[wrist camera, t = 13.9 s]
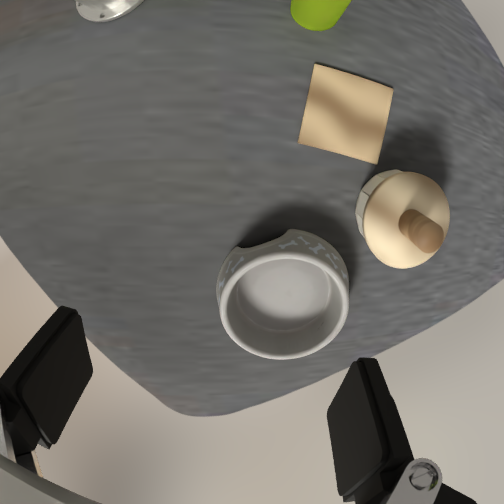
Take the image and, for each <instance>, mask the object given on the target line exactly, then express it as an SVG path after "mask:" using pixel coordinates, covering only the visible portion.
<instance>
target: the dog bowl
mask: <svg viewBox="0 0 504 504" xmlns="http://www.w3.org/2000/svg"><path fill="white" fill-rule="evenodd" d="M216 291H217V299H218V304H219V310H220V316H221V320H222V323H223V326H224V328H225V330H226V331H227V333H228V334H229V336H230V337H231V338H232V339H233V340H234V341H235V342H236V343H237V344H238V345H239V346H241V347H242V348H243V349H245V350H247V351H248V352H251V353H253V354H255V355H258V356H261V357H265V358H270V359H293V358H299V357H303V356H306V355H309V354H311V353H314V352H316V351H318V350H319V349H321V348H323V347H324V346H326V345H327V344H328V343H329V342H331V341H332V340H333V339H334V338H335V336H336V335H337V334H338V333H339V331H340V330H341V328H342V327H343V325H344V323H345V321H346V318H347V315H348V310H349V277H348V272H347V268H346V265H345V263H344V261H343V259H342V257H341V256H340V254H339V253H338V252H337V250H336V249H335V248H334V247H333V246H332V245H331V244H329V243H328V242H327V241H325V240H324V239H322V238H320V237H319V236H317V235H314V234H312V233H309V232H306V231H302V230H297V229H288V230H287V232H286V233H285V234H284V235H282V236H281V237H279V238H277V239H275V240H272V241H269V242H267V243H264V244H261V245H258V246H254V247H251V248H240V247H238V246H237V247H235V248H234V249H233V250H232V251H231V252H230V253H229V255H228V256H227V257H226V259H225V261H224V263H223V265H222V267H221V269H220V272H219V275H218V279H217V287H216ZM322 323H323V324H322Z"/></svg>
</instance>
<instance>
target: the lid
mask: <svg viewBox="0 0 504 504" xmlns="http://www.w3.org/2000/svg"><path fill="white" fill-rule="evenodd" d="M449 219H450V213H449V205H448V201H447V198H446V196H445V194H444V192H443V190H442V189H441V188H440V186H439V185H438V184H437V183H436V182H435V181H433V180H432V179H430V178H429V177H427V176H424V175H422V174H418V173H415V172H400V173H396V174H394V175H391V176H389V177H387V178H386V179H384V180H383V181H382V182H381V183H379V184H378V185H377V186H376V188H375V189H374V190H373V191H372V193H371V194H370V196H369V198H368V200H367V202H366V205H365V208H364V212H363V219H362V228H363V234H364V237H365V240H366V243H367V245H368V246H369V248H370V250H371V251H372V252H373V253H374V255H375V256H376V257H377V258H378V259H379V260H380V261H381V262H383V263H384V264H386V265H388V266H391V267H394V268H411V267H414V266H417V265H420V264H422V263H423V262H425V261H427V260H428V259H429V258H430V257H432V256H433V255H434V254H435V253H436V251H437V250H438V249H439V248H440V246H441V245H442V243H443V241H444V239H445V236H446V234H447V231H448V227H449Z"/></svg>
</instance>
